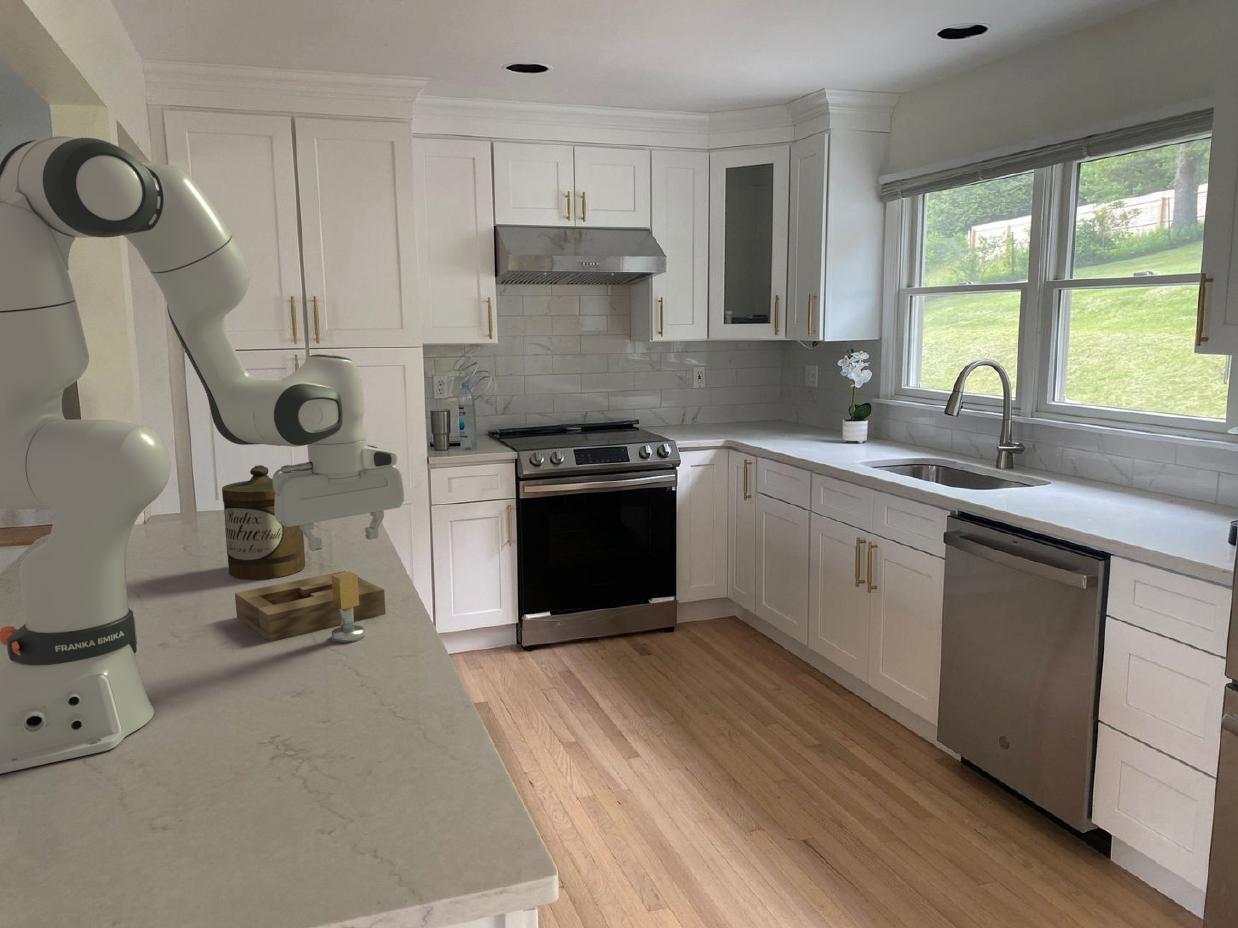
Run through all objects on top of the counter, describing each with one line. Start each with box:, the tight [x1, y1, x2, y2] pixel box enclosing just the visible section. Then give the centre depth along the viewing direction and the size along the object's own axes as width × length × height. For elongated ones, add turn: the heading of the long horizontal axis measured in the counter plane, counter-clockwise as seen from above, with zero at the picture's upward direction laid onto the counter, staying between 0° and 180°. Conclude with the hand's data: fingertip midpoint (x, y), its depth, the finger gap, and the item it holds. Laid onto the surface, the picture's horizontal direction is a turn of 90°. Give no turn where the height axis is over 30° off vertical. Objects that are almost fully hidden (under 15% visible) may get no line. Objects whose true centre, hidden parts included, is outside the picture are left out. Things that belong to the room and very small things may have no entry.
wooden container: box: [221, 464, 306, 581], centre depth 181 cm, size 15×15×22 cm
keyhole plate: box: [234, 570, 387, 642], centre depth 153 cm, size 20×16×4 cm
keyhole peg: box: [331, 570, 365, 644], centre depth 142 cm, size 5×5×10 cm
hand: (344, 543), depth 140 cm, fingers open, 8 cm apart
